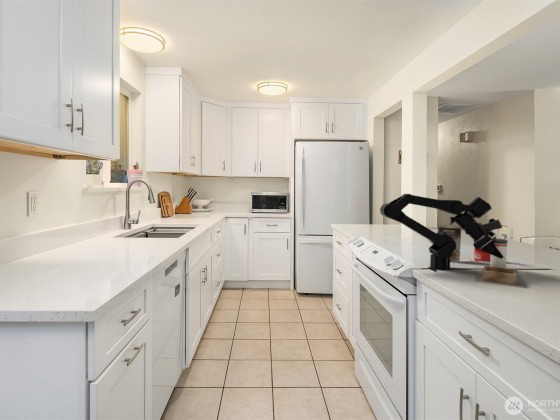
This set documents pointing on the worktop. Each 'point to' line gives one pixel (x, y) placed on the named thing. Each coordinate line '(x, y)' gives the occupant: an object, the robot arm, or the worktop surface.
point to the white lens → (502, 247)
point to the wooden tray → (499, 275)
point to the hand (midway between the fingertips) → (503, 256)
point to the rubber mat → (519, 283)
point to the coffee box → (456, 235)
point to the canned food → (481, 255)
